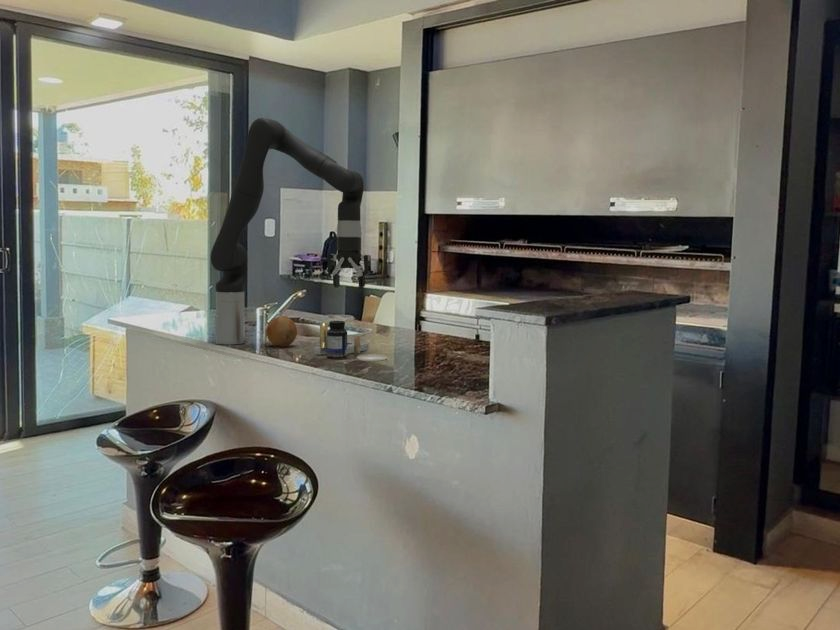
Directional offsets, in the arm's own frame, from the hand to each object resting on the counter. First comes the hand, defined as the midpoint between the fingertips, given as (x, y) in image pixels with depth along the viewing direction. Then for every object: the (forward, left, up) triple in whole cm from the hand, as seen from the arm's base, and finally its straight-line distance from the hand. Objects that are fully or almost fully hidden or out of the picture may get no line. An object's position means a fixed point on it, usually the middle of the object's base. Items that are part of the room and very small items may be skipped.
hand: (349, 287), depth 240 cm
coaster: (+6, -13, -20) cm, 25 cm away
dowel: (+2, -7, -20) cm, 22 cm away
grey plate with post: (-4, 0, -20) cm, 20 cm away
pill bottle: (-4, -10, -21) cm, 23 cm away
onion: (-21, +12, -21) cm, 32 cm away
